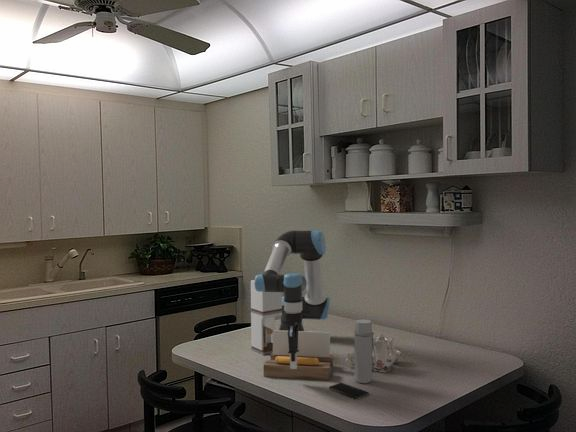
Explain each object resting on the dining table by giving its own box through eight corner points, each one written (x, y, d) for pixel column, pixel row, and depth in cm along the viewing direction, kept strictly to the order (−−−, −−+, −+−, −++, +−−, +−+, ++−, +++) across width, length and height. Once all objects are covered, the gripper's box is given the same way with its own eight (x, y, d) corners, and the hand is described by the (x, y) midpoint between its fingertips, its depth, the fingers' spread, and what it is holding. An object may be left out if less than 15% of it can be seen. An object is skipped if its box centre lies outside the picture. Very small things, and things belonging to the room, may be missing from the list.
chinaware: (394, 361, 243) (392, 326, 244) (415, 369, 227) (413, 331, 228) (341, 369, 232) (339, 332, 233) (359, 377, 217) (357, 337, 218)
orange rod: (275, 361, 223) (275, 355, 223) (319, 364, 220) (319, 357, 219) (274, 364, 220) (274, 357, 220) (318, 366, 217) (318, 359, 216)
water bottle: (358, 385, 208) (358, 324, 207) (351, 378, 216) (351, 319, 215) (379, 382, 211) (379, 322, 210) (371, 376, 218) (371, 318, 217)
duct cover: (272, 354, 233) (273, 354, 234) (329, 357, 228) (330, 356, 229) (272, 330, 233) (273, 330, 234) (329, 332, 228) (330, 332, 229)
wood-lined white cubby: (263, 355, 249) (262, 283, 248) (251, 349, 258) (250, 280, 256) (282, 350, 256) (281, 280, 255) (270, 345, 264) (269, 278, 263)
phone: (356, 398, 193) (327, 387, 205) (356, 401, 193) (327, 389, 205) (370, 392, 198) (341, 382, 210) (370, 395, 199) (341, 384, 210)
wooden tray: (272, 362, 237) (272, 352, 237) (333, 366, 232) (333, 355, 232) (263, 376, 220) (263, 364, 219) (328, 380, 214) (328, 368, 214)
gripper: (287, 307, 218) (287, 362, 219) (281, 314, 205) (281, 373, 206) (304, 308, 217) (305, 363, 218) (299, 315, 204) (300, 374, 205)
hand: (293, 368), depth 212 cm, fingers closed
